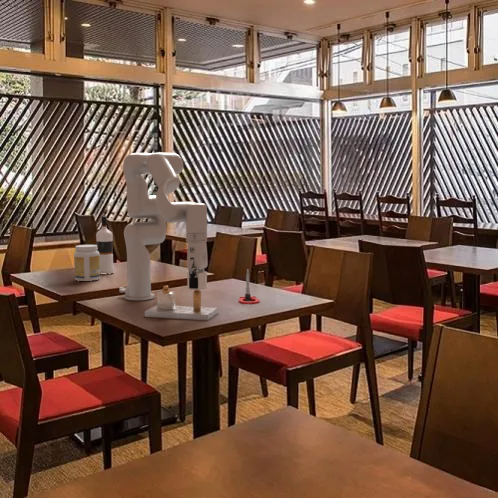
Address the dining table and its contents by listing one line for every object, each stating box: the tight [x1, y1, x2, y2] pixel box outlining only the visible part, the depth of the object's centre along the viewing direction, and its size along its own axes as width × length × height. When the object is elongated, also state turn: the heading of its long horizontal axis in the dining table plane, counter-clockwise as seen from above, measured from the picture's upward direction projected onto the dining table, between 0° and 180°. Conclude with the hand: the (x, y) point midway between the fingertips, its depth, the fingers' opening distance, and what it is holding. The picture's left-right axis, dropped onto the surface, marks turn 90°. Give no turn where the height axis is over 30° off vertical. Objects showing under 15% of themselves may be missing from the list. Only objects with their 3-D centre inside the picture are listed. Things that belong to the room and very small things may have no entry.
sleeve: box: [186, 270, 208, 291], centre depth 229 cm, size 7×7×6 cm
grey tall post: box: [238, 268, 260, 305], centre depth 255 cm, size 8×13×9 cm
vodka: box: [95, 215, 115, 274], centre depth 327 cm, size 9×9×30 cm
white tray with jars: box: [144, 285, 219, 321], centre depth 231 cm, size 24×12×10 cm, turn 76°
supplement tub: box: [73, 244, 101, 282], centre depth 307 cm, size 12×12×17 cm
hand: (197, 286), depth 229 cm, fingers closed on sleeve, 6 cm apart
